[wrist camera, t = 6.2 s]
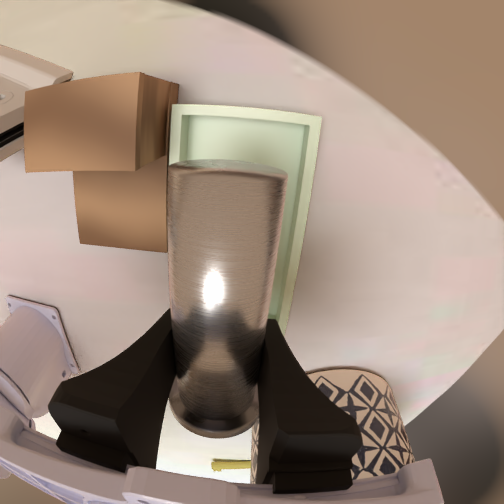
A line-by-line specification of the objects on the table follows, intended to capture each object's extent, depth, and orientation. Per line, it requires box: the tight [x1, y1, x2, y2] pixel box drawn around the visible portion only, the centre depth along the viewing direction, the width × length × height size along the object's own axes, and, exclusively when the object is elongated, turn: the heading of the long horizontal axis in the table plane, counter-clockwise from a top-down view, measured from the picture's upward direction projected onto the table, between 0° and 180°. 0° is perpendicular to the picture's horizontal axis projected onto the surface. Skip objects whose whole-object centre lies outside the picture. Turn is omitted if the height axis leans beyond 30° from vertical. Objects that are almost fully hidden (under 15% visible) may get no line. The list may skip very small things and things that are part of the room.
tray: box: [169, 104, 322, 336], centre depth 19 cm, size 15×8×2 cm, turn 175°
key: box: [211, 461, 251, 471], centre depth 36 cm, size 7×12×2 cm, turn 108°
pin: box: [167, 159, 288, 438], centre depth 11 cm, size 11×5×5 cm, turn 174°
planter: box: [250, 369, 415, 484], centre depth 23 cm, size 16×16×14 cm
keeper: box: [24, 72, 179, 253], centre depth 16 cm, size 11×7×7 cm, turn 175°
